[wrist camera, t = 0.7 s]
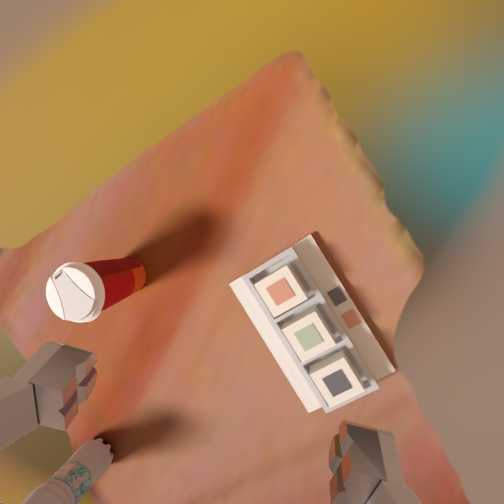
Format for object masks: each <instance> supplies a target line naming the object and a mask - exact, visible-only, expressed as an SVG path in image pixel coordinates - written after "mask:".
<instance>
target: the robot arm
mask: <svg viewBox="0 0 504 504" xmlns="http://www.w3.org/2000/svg"><path fill="white" fill-rule="evenodd" d="M96 362H97V356H96V354H95V353H92V352H89V351H85V350H82V349H79V348H75V347H72V346H69V345H65V344H61V343H58V342H54V341H49V342H47V343H45V344H44V345H43V346H42V347H41V348H40V349H39V350H38V351H37V352H36V353H35V354H34V355H33V356H32V357H31V358H30V359H29V360H28V361H27V362H26V363H25V364H24V366H22V367H21V368H20V370H19V371H18V372H17V373H16V374H15V375H14V376H13V377H12V378H8V377H5V378H3V379H1V380H0V450H2V449H3V448H5V447H7V446H8V445H10V444H11V443H13V442H14V441H16V440H17V439H19V438H21V437H22V436H24V435H25V434H27V433H28V432H30V431H32V430H33V429H35V428H36V427H38V425H43V426H47V427H51V428H55V429H59V430H63V431H66V429H67V428H68V426H69V425H70V423H71V422H72V421H73V419H74V418H75V416H76V415H77V413H78V404H80V403H82V402H84V401H86V400H87V399H88V397H89V395H90V394H91V392H92V390H93V388H94V386H95V383H96V378H97V371H96V369H95V368H94V367H93V366H94V365H95V363H96ZM329 468H330V470H331V471H332V473H333V474H334V475H333V477H332V479H331V480H330V497H331V504H422V503H421V502H420V500H419V499H418V498H417V496H416V495H415V494H414V492H413V491H412V490H411V488H408V487H406V486H405V482H404V478H403V474H402V469H401V465H400V461H399V457H398V452H397V448H396V444H395V439H394V436H393V434H392V433H391V432H387V431H383V430H380V429H376V428H373V427H370V426H366V425H362V424H358V423H354V422H350V421H346V420H343V421H342V422H341V424H340V426H339V434H337V435H335V436H334V437H333V440H332V442H331V445H330V450H329ZM0 504H3V503H0Z"/></svg>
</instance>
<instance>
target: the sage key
mask: <svg viewBox="0 0 504 504" xmlns="http://www.w3.org/2000/svg"><path fill="white" fill-rule="evenodd" d="M282 331H283V333H284V334H285V336H286V338H287V339H288V341H289V342H290V344H291V346H292V347H293V349H294V351H295V352H296V354H297V355H298V357H299V359H300V360H301V362H302V363H303V362H305V361H307V360H308V359H310V358H312V357H314V356H316V355H318V354H320V353H322V352H324V351H326V350H328V349H330V348H331V347H333V346H335V345H336V339H335V336H334V335H333V333H332V331H331V330H330V328H329V327H328V325H327V323H326V322H325V320H324V318H323V317H322V315H321V314H320V312H319V310H318V309H317V307H316V306H314V307H312V308H310V309H309V310H307V311H305V312H303V313H302V314H300V315H298V316H296V317H294V318H293V319H291V320H289V321H287V322H285V323H284V324H283V327H282Z"/></svg>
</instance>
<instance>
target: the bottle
mask: <svg viewBox="0 0 504 504" xmlns="http://www.w3.org/2000/svg"><path fill="white" fill-rule="evenodd" d="M110 449H111V445H110V444H107V445H105V444H103V439H101V438H99V439H96V440H94V439H91V440H89V441H87V442H86V443H84V444H83V445H82V446H81V447H80V448H79V449H78V450H77V451H76V452H75V453H74V454H73V456H72V457H71V458H70V459H69V460H68V461H67V462H66V463H65V464H64V465H63V466H62V467H61V468H60V469H59V470H58V471H57V472H56V473H55V474H54V475H53V476H52V477H51V478H50V479H49V480H48V481H47V482H46V483H45V484H42V485H40V486H39V487H37V488H36V490H35V491H34V492H32V493H30V494H29V496H28V497H27V499H26V500H25V501H24V502H23V504H77V503H78V502H79V501H80V500H81V499H82V497H83V496H84V495H85V494H86V493H87V492H88V490H89V489H90V488H91V487H92V486H93V485H94V484H95V483H96V482H97V480H98V479H99V478H100V477H101V476H102V475H103V474H104V473H105V472H106V471H107V469H108V468H109V466H110V464H111V462H112V459H113V453H112V452H110Z"/></svg>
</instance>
